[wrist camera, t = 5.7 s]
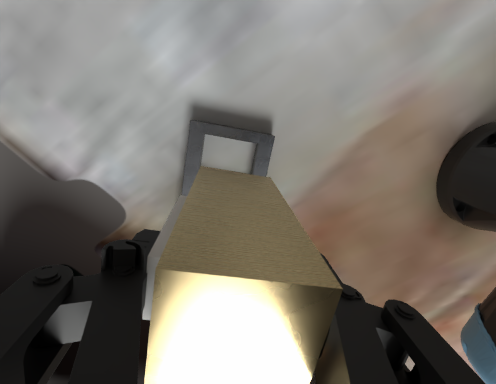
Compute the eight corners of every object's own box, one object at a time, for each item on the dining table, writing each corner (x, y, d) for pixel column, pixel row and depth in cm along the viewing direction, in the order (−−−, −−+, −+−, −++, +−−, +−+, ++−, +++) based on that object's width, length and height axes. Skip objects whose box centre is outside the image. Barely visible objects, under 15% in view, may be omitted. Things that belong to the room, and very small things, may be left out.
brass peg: (270, 177, 18) (343, 289, 7) (256, 239, 20) (298, 414, 8) (200, 165, 18) (155, 268, 6) (191, 230, 19) (142, 408, 8)
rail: (271, 134, 33) (275, 136, 30) (237, 296, 40) (238, 306, 38) (192, 119, 31) (190, 120, 29) (171, 289, 38) (168, 300, 36)
